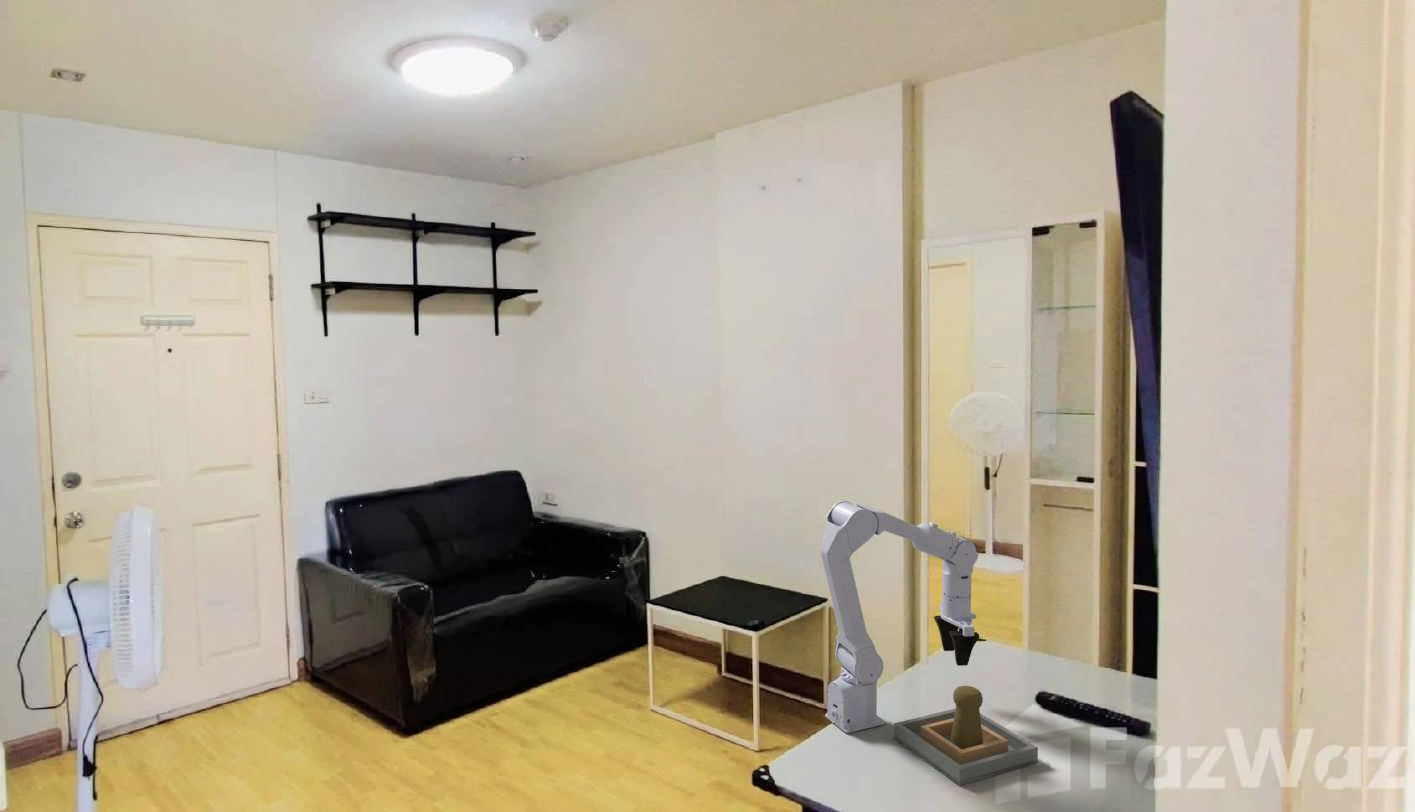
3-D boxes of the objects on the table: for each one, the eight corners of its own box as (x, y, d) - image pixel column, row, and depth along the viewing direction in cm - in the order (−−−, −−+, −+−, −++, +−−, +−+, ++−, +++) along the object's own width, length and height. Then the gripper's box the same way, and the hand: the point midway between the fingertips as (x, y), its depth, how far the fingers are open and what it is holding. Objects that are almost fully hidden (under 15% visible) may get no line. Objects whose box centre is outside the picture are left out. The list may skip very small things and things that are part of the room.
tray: (959, 786, 134) (959, 767, 133) (894, 738, 150) (894, 721, 150) (1037, 763, 141) (1037, 745, 141) (967, 720, 157) (967, 704, 157)
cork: (943, 739, 148) (944, 683, 147) (972, 736, 149) (974, 680, 148) (960, 755, 142) (961, 697, 141) (990, 752, 143) (991, 694, 142)
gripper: (989, 604, 155) (988, 671, 156) (962, 583, 169) (961, 644, 170) (954, 605, 154) (953, 672, 155) (930, 583, 169) (929, 644, 170)
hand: (955, 657), depth 163 cm, fingers open, 7 cm apart
